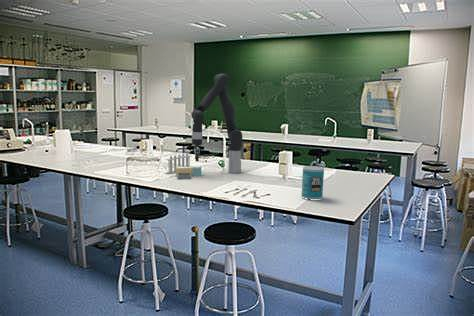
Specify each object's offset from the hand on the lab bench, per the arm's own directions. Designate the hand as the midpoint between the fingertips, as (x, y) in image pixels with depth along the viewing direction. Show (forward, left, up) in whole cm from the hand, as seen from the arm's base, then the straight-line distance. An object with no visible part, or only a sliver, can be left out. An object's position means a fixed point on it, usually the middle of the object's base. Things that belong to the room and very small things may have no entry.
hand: (196, 160), depth 270 cm
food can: (-64, +66, -12) cm, 93 cm away
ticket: (+9, 0, -11) cm, 15 cm away
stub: (0, 0, -11) cm, 11 cm away
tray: (+9, +7, -11) cm, 16 cm away
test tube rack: (+13, -15, -12) cm, 23 cm away
